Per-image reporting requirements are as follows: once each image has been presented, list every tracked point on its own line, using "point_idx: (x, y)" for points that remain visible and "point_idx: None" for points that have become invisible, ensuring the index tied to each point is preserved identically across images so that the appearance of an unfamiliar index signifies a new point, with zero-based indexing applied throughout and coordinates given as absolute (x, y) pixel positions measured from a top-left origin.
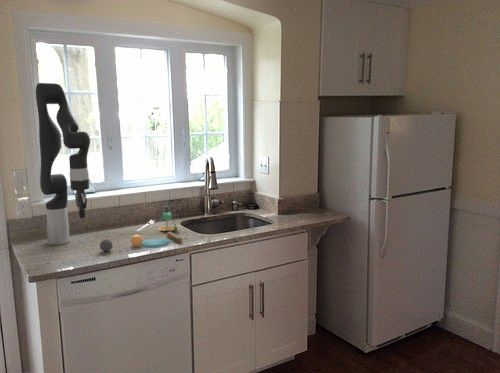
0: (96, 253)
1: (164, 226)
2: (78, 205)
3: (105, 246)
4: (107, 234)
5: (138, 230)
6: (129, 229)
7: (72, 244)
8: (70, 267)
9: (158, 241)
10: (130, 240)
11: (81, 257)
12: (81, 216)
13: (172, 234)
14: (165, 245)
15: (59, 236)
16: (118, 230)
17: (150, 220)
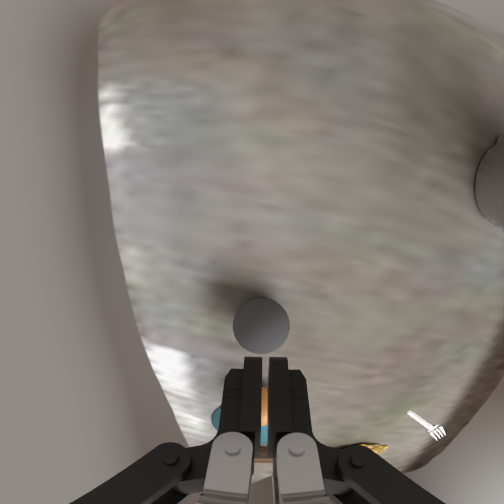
0: (256, 270)
1: (378, 451)
2: (280, 481)
3: (234, 320)
4: (455, 346)
5: (407, 413)
6: (440, 396)
7: (451, 218)
8: (117, 137)
9: (264, 430)
10: (263, 397)
11: (233, 202)
12: (226, 377)
13: (264, 459)
14: (217, 429)
15: (499, 184)
16: (458, 374)
17: (444, 433)
